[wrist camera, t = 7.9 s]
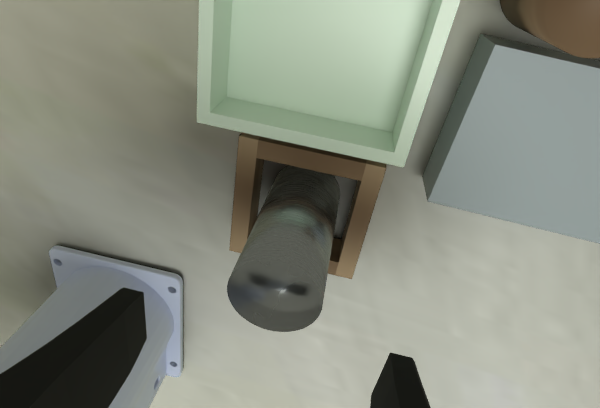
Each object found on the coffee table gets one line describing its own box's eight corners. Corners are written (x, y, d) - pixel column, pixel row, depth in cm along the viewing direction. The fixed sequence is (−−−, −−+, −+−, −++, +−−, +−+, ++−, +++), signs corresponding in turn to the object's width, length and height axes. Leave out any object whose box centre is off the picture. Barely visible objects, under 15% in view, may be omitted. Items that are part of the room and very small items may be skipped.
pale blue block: (577, 210, 18) (604, 244, 16) (421, 172, 18) (427, 201, 16) (669, 76, 15) (718, 96, 12) (478, 32, 15) (495, 44, 13)
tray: (400, 141, 17) (403, 167, 15) (218, 102, 17) (196, 122, 15) (474, -90, 13) (493, -99, 11) (230, -134, 13) (202, -151, 11)
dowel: (332, 227, 20) (312, 340, 14) (269, 212, 20) (224, 319, 14) (346, 170, 18) (331, 273, 12) (277, 155, 18) (230, 249, 12)
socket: (353, 255, 21) (351, 278, 19) (240, 229, 21) (229, 250, 19) (385, 149, 17) (386, 168, 16) (250, 120, 18) (238, 135, 16)
